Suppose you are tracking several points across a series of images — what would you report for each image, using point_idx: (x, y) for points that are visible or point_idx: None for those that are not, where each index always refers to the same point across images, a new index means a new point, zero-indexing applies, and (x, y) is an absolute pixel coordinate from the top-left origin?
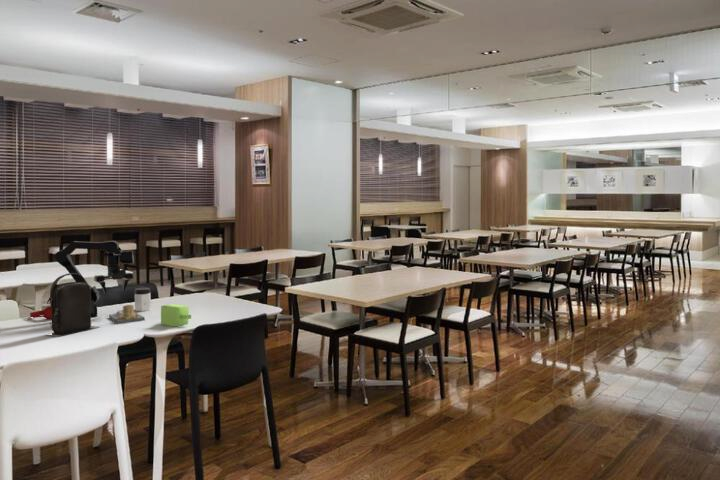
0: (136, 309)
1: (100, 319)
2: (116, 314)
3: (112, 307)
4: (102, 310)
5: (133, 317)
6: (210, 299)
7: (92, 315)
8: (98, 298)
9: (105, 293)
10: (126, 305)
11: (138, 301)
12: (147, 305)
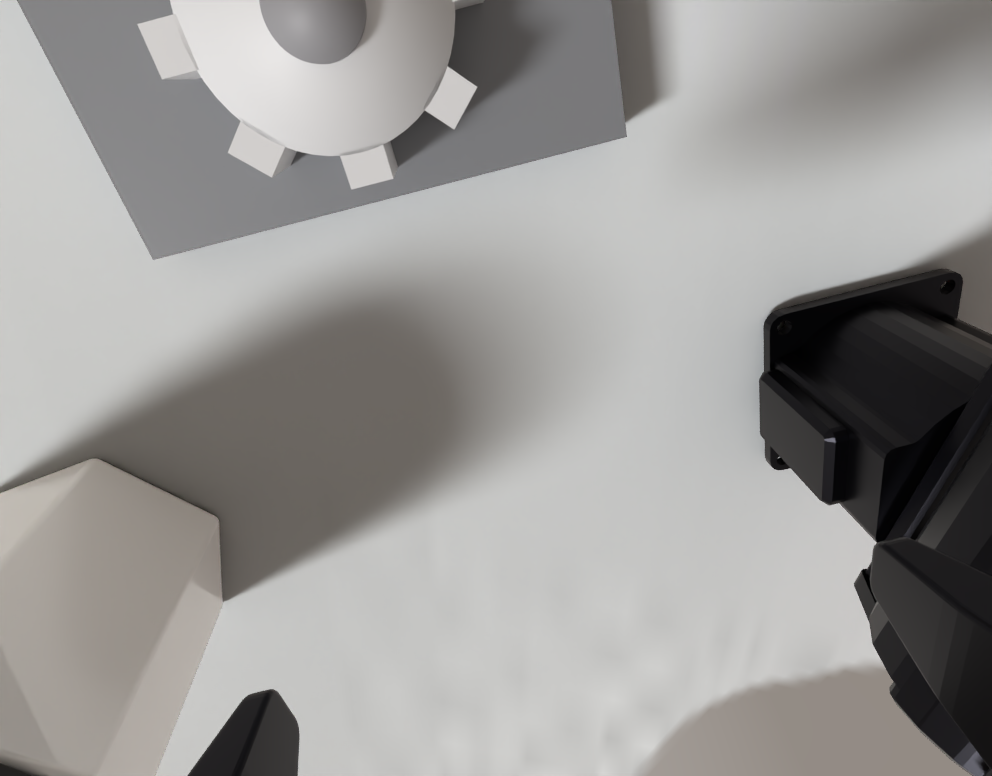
0: (189, 519)
1: (767, 41)
2: (488, 117)
3: (520, 751)
4: (634, 655)
5: None
6: None
7: (843, 319)
8: (878, 617)
9: (918, 548)
10: None
11: (74, 605)
12: None
